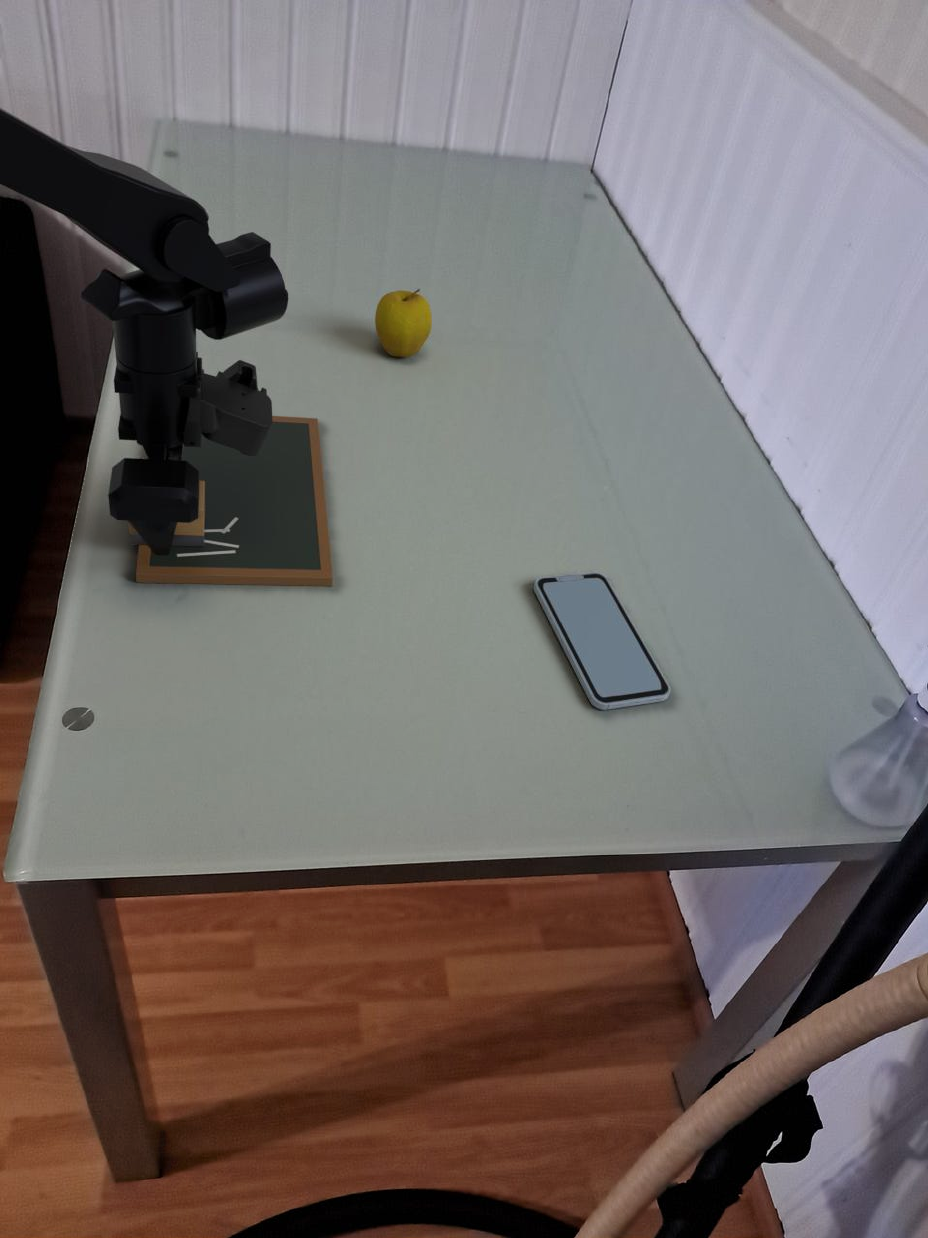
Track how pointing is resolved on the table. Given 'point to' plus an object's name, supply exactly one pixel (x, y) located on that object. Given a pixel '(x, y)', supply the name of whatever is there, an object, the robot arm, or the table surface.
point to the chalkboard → (255, 515)
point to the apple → (403, 322)
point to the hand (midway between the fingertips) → (165, 518)
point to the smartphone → (601, 641)
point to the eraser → (182, 527)
